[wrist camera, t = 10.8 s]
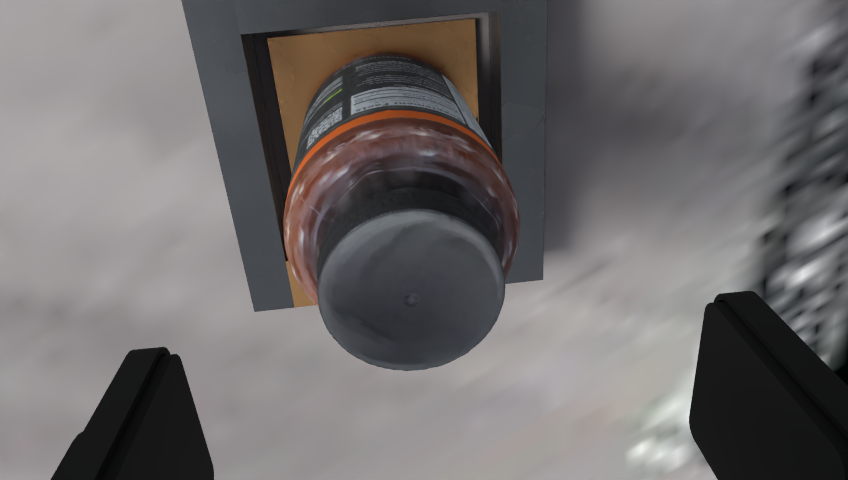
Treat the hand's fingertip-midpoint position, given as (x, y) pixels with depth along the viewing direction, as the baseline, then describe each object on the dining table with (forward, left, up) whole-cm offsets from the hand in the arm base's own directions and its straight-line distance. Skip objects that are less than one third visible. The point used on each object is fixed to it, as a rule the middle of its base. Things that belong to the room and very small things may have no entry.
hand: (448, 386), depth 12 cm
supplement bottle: (0, 0, -14) cm, 14 cm away
